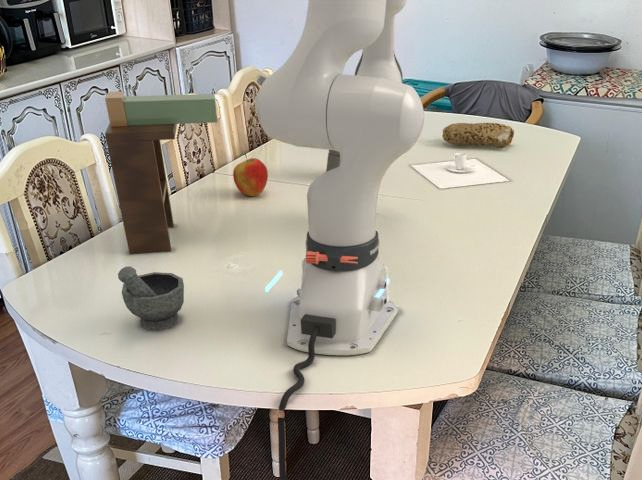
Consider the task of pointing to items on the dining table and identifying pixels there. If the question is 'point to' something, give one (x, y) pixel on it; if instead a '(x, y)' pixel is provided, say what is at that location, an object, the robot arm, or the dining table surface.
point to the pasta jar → (160, 109)
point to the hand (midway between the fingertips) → (259, 83)
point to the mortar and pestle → (152, 297)
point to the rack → (142, 184)
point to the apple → (250, 177)
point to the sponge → (478, 134)
